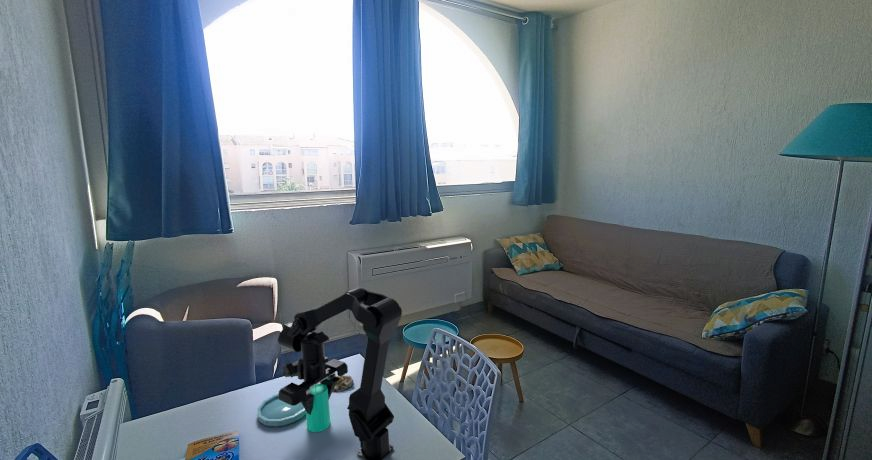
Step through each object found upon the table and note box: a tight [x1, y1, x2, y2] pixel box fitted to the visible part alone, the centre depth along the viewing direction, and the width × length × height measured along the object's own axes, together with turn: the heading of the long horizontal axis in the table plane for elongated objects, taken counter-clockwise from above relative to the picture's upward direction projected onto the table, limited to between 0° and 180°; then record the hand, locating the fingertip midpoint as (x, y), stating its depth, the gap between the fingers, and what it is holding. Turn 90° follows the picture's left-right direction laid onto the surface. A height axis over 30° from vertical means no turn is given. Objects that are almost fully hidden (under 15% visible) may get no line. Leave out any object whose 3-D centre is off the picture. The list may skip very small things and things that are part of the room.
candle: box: [305, 383, 331, 433], centre depth 106 cm, size 6×6×12 cm
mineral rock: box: [333, 375, 354, 392], centre depth 126 cm, size 11×4×8 cm
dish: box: [256, 393, 306, 427], centre depth 113 cm, size 14×14×2 cm
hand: (317, 409), depth 106 cm, fingers closed on candle, 5 cm apart
